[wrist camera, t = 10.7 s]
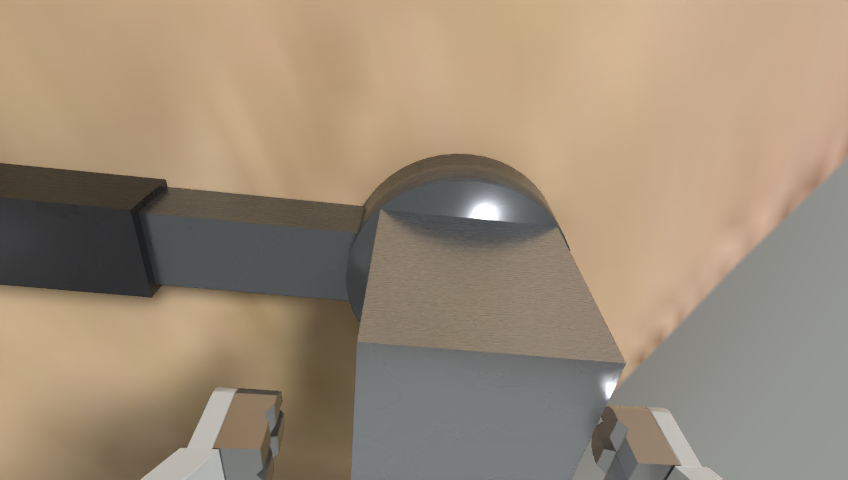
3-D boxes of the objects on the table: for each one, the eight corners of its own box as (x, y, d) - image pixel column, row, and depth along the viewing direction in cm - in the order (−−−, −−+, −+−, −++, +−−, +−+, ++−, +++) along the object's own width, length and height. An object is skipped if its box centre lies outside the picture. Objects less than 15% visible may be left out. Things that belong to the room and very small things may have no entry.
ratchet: (-4, 286, 19) (-158, 402, 14) (-92, 94, 15) (-352, 162, 10) (529, 331, 21) (564, 452, 16) (580, 166, 17) (650, 257, 12)
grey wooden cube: (371, 342, 18) (349, 497, 13) (380, 209, 15) (357, 341, 10) (519, 354, 18) (557, 510, 13) (557, 226, 15) (625, 363, 10)
